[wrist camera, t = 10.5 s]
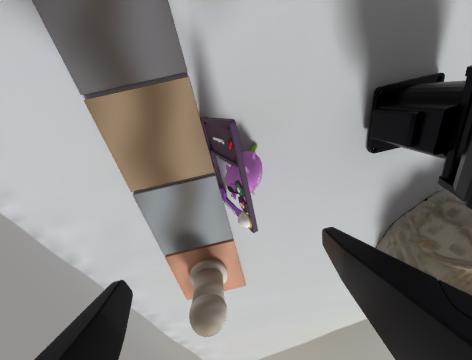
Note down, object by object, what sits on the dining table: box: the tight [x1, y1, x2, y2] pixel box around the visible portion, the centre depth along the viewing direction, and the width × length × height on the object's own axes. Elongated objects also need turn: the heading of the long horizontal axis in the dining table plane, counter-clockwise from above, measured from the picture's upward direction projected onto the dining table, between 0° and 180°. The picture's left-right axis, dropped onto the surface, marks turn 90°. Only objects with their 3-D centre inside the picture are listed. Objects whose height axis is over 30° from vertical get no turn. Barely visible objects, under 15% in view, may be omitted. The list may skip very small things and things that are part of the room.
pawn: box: [189, 259, 228, 337], centre depth 21 cm, size 5×5×7 cm
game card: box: [201, 117, 262, 233], centre depth 16 cm, size 7×5×9 cm
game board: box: [32, 0, 246, 300], centre depth 19 cm, size 9×36×1 cm, turn 11°
